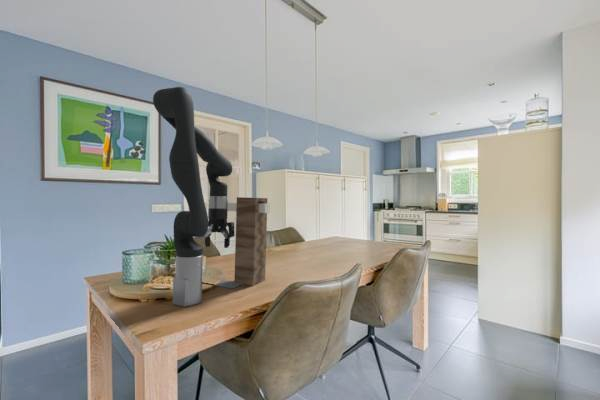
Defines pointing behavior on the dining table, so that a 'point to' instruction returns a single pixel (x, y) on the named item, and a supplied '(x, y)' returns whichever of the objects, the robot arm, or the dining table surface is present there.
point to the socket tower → (250, 241)
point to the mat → (228, 284)
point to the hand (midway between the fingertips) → (217, 247)
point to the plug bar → (261, 207)
